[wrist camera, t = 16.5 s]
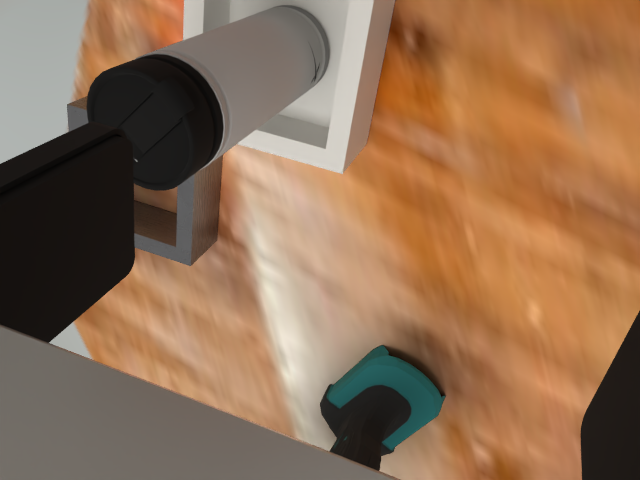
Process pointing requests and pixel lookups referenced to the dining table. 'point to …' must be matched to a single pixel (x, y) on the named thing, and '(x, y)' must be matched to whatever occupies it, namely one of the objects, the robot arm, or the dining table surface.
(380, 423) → the power drill
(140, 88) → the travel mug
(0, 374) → the robot arm
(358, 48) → the light grey square tray
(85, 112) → the socket block
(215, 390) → the dining table surface
